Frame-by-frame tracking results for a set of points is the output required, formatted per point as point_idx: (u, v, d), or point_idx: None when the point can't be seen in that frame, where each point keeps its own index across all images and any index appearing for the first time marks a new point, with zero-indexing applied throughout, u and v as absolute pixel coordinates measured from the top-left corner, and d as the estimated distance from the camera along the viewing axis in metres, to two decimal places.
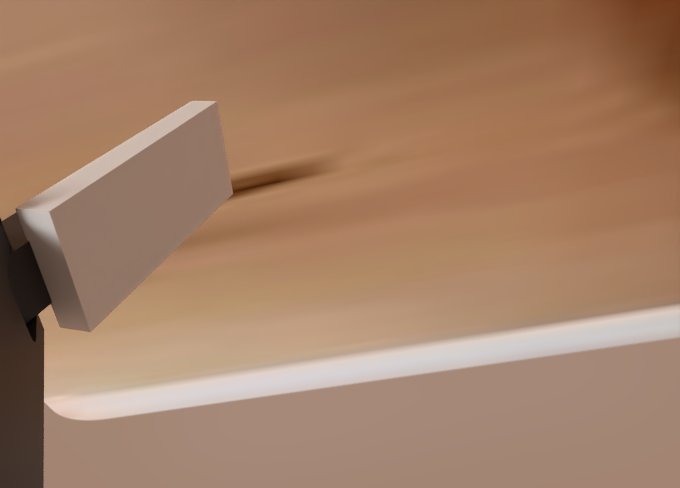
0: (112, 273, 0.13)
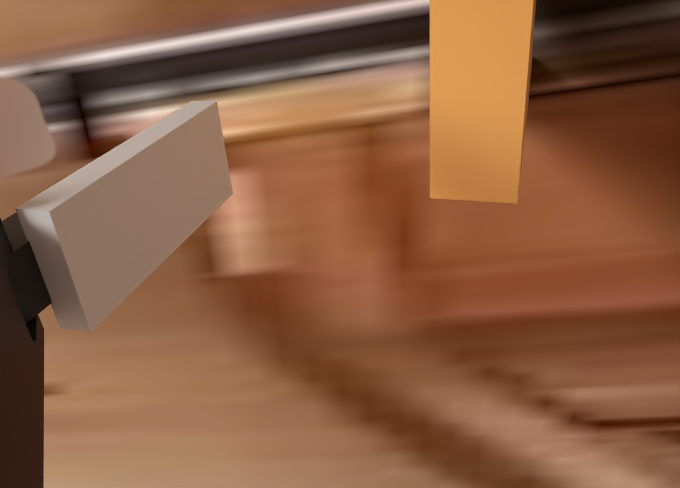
0: (112, 273, 0.13)
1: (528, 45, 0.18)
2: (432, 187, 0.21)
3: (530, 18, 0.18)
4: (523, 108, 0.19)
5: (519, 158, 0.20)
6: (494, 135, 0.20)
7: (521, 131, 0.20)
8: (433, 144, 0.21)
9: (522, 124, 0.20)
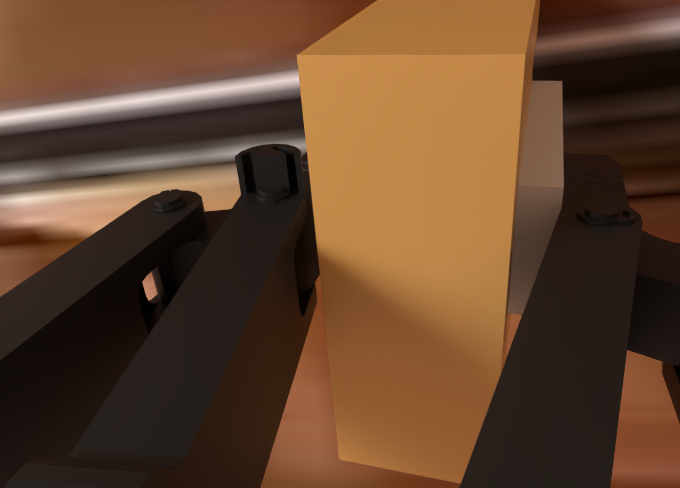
0: None
1: (507, 246, 0.09)
2: (342, 446, 0.12)
3: (511, 197, 0.08)
4: (499, 351, 0.10)
5: None
6: (446, 386, 0.10)
7: None
8: (337, 384, 0.11)
9: (498, 374, 0.10)
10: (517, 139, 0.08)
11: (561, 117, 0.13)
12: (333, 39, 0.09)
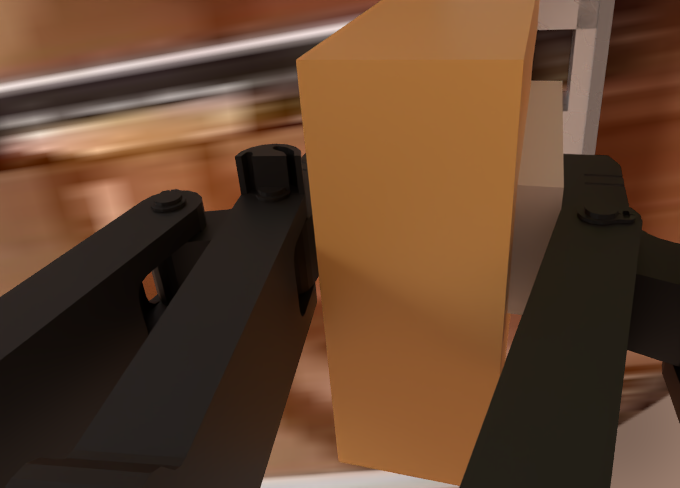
0: None
1: (506, 250, 0.09)
2: (341, 448, 0.12)
3: (509, 201, 0.08)
4: (498, 354, 0.10)
5: None
6: (445, 389, 0.11)
7: None
8: (336, 387, 0.11)
9: (497, 377, 0.10)
10: (515, 143, 0.08)
11: (561, 117, 0.13)
12: (332, 43, 0.09)
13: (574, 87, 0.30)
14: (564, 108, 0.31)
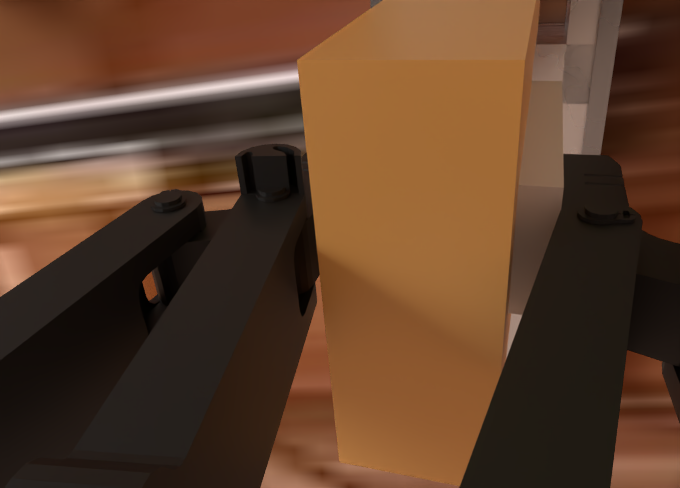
0: None
1: (507, 250, 0.09)
2: (342, 448, 0.12)
3: (510, 202, 0.08)
4: (499, 354, 0.10)
5: None
6: (446, 390, 0.11)
7: None
8: (337, 387, 0.11)
9: (498, 378, 0.10)
10: (516, 144, 0.08)
11: (561, 117, 0.13)
12: (333, 44, 0.09)
13: None
14: None
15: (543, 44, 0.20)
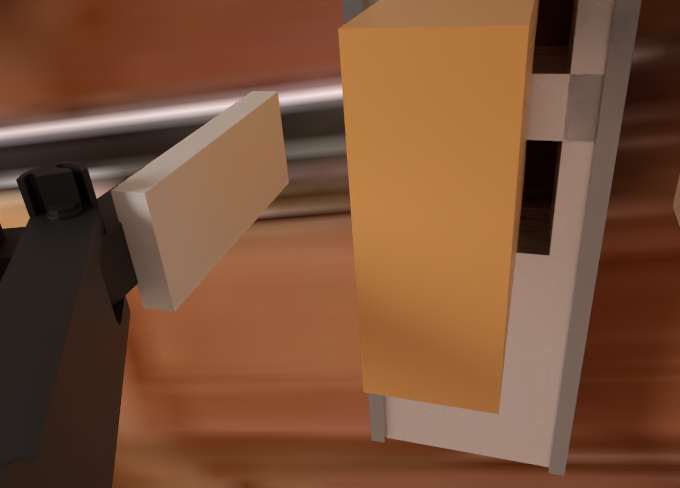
0: (192, 255, 0.13)
1: (513, 190, 0.10)
2: (366, 379, 0.14)
3: (516, 148, 0.10)
4: (506, 284, 0.11)
5: (500, 354, 0.12)
6: (460, 319, 0.12)
7: (503, 317, 0.12)
8: (364, 321, 0.13)
9: (505, 306, 0.12)
10: (522, 97, 0.10)
11: None
12: (366, 17, 0.11)
13: (560, 224, 0.20)
14: (544, 247, 0.21)
15: (543, 73, 0.18)
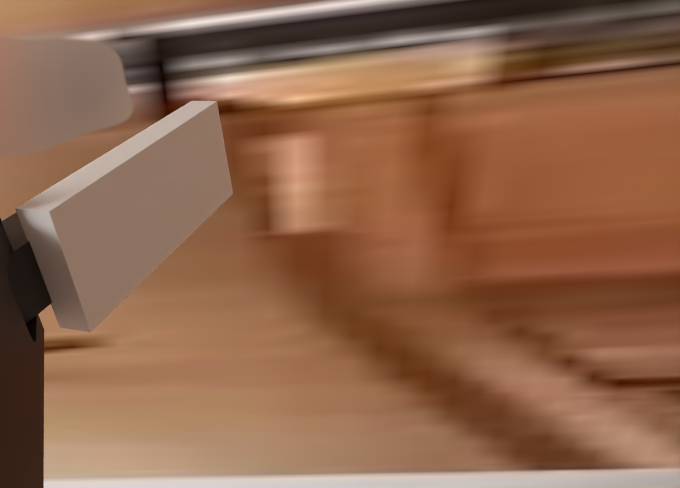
0: (112, 273, 0.13)
1: None
2: None
3: None
4: None
5: None
6: None
7: None
8: None
9: None
10: None
11: None
12: None
13: None
14: None
15: None
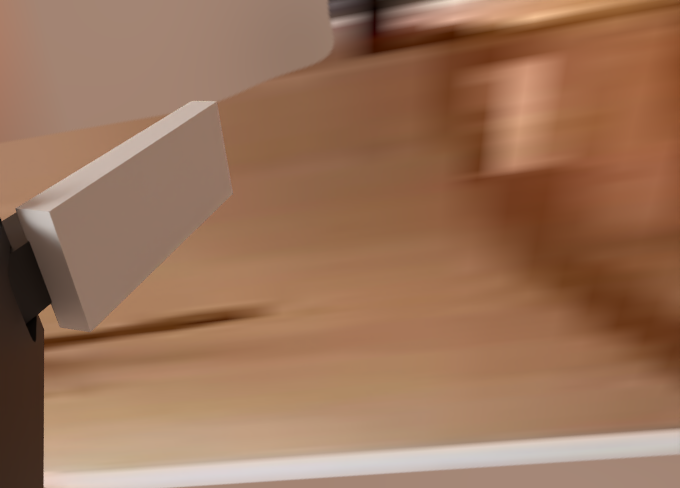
0: (112, 273, 0.13)
1: None
2: None
3: None
4: None
5: None
6: None
7: None
8: None
9: None
10: None
11: None
12: None
13: None
14: None
15: None
